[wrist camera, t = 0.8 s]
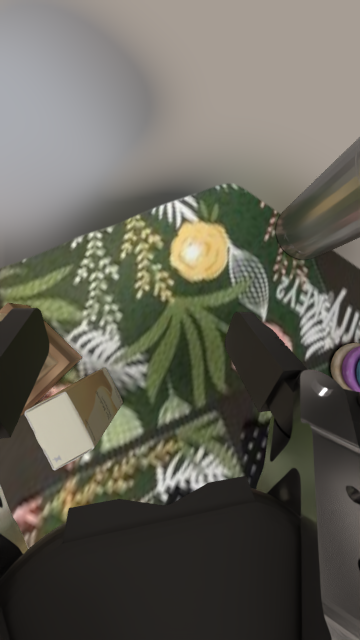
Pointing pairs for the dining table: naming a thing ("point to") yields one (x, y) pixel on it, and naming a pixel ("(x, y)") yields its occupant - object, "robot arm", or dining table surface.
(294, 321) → the dining table surface
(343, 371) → the stacking toy
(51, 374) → the stepped wooden pedestal
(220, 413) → the dining table surface
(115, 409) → the skincare box
